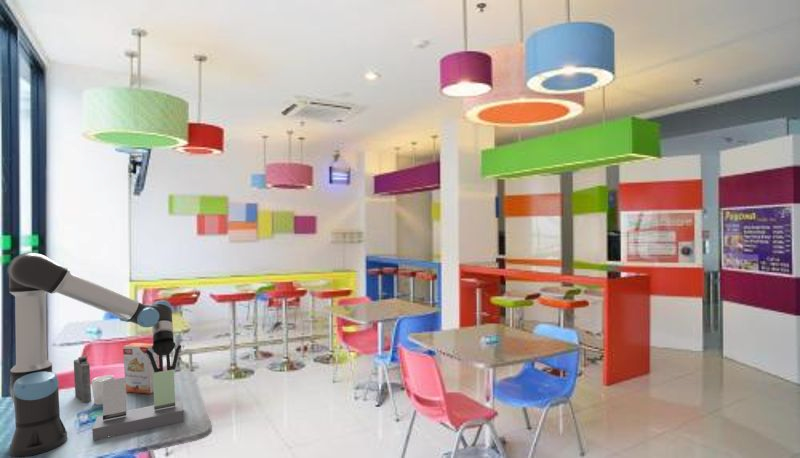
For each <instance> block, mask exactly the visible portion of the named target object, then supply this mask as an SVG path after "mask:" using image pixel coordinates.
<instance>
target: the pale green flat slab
mask: <svg viewBox="0 0 800 458" xmlns="http://www.w3.org/2000/svg"><path fill="white" fill-rule="evenodd" d="M166 370H167V369H166ZM175 387H176V386H175V370H174V369H173V370H167V371H161V372H155V373H153V405H154V410H157V409H162V408H167V407H172V406H175V401H176V392H175V391H176V390H175Z"/></svg>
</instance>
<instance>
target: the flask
mask: <svg viewBox="0 0 800 458" xmlns="http://www.w3.org/2000/svg"><path fill="white" fill-rule="evenodd" d="M90 368H91V367H90V362H89V361H88V356H87V355H82V356H79V357H78V359H74V360H73V375H74V376H73V377H74V392H75V393H74V394H75V397H76V398H79V399H80V400H82V403H85V404H86V403H87V404H88V403H91V401H92V385H91V369H90Z"/></svg>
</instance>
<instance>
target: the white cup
mask: <svg viewBox="0 0 800 458" xmlns="http://www.w3.org/2000/svg"><path fill="white" fill-rule="evenodd" d="M113 379H115V375H114V374H105V375H100V376H97V377H94V378H92V379H91V390H92V395H93V401H94V405H96V406H97V405H99V406H101V405H103V381H107V380H113Z"/></svg>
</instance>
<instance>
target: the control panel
mask: <svg viewBox="0 0 800 458" xmlns="http://www.w3.org/2000/svg"><path fill="white" fill-rule="evenodd" d="M184 421H185V417H184V403H183V399H180V400H179V399H178V400H175V406H172V407H167V408H162V409H157V410H154V404H153V405H150V406H145V407H139V408H134V409H128V410H126V416H122V417H117V418H112V419H107V420H103V414H102V415H97V416H96V419H95V421H94V424H93V426H92V432H91V433H92V441H93V440H94V441H98V440H97V439H99V440H102V439H101V438H103V439H106V438H105V437H108V436H113V435H117V436H121V435H120V434H122V435H126V434H125V433H127V434H131V433H134V431H136V432H140V431H145V430H148V429H149V430H150V429H155V428H158V427H162V426H163V427H164V426H169V425H172V424H177V423H182V422H184ZM130 432H131V433H130ZM113 437H114V436H113ZM108 438H109V437H108Z"/></svg>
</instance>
